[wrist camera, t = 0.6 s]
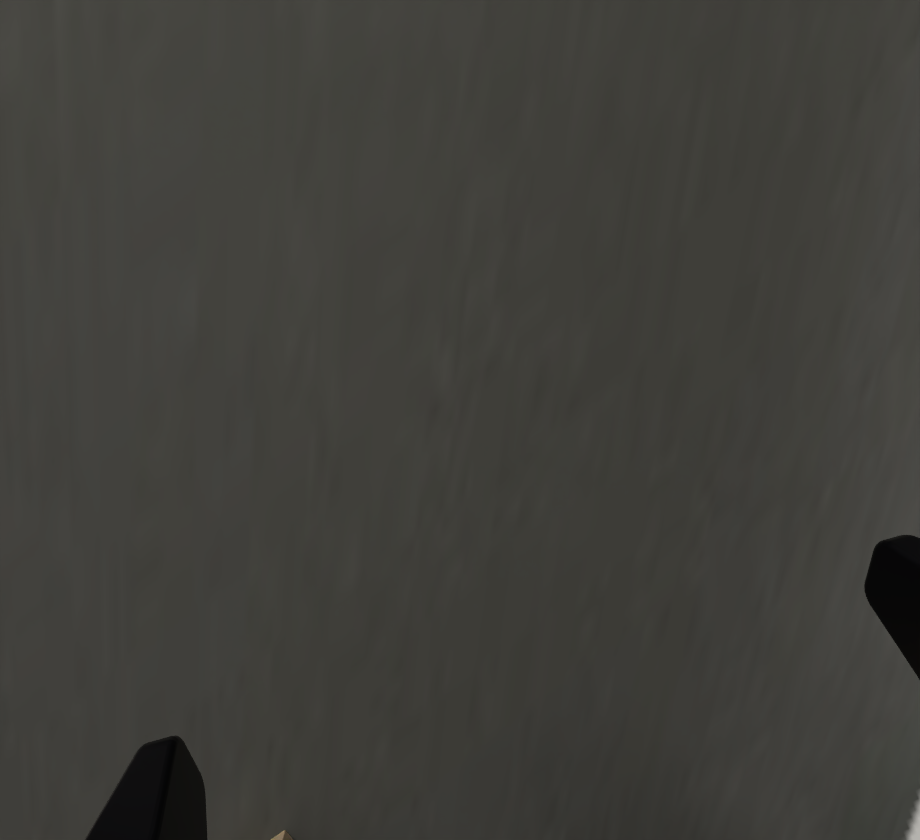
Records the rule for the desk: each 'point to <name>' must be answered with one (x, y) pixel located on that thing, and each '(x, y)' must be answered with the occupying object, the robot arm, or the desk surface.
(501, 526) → the desk surface
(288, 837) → the wooden tray
